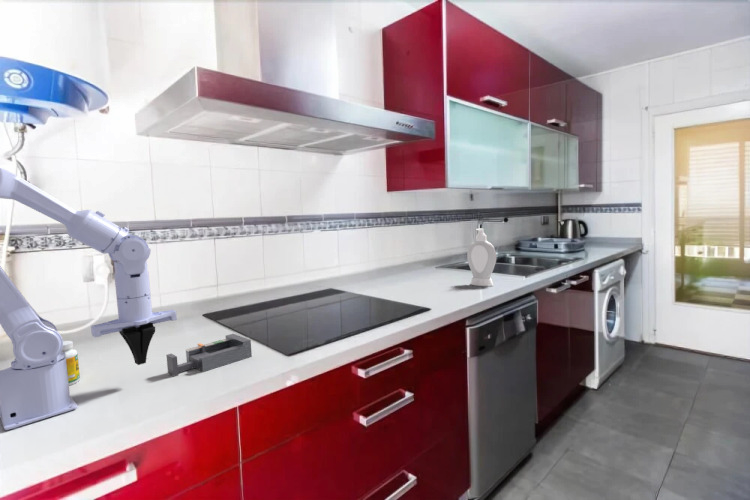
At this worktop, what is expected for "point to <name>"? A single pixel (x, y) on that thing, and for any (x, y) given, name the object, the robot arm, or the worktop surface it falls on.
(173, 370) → the grey hook
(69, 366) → the supplement bottle
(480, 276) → the soap bottle
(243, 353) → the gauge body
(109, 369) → the worktop surface
